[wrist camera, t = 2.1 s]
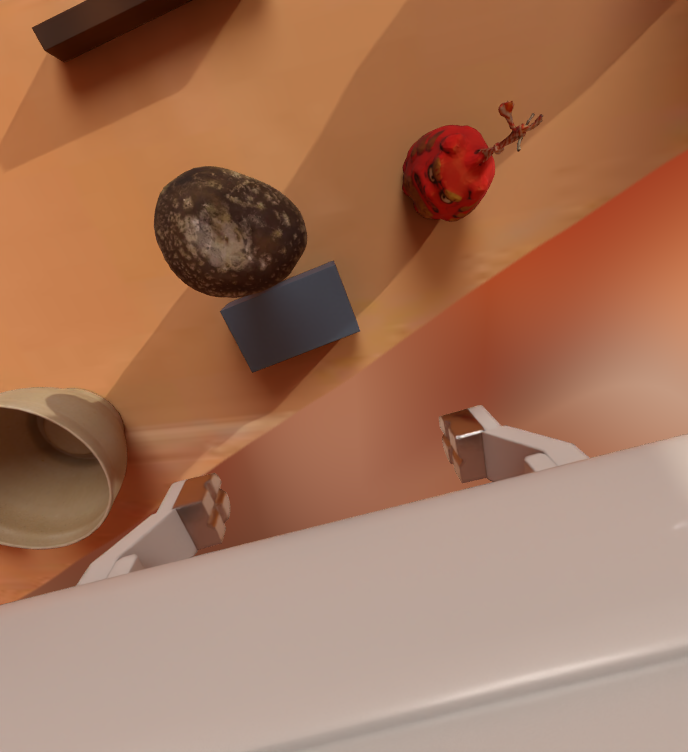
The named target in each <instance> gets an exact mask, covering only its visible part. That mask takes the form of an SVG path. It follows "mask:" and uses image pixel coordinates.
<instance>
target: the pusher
mask: <svg viewBox="0 0 688 752" xmlns="http://www.w3.org/2000/svg"><path fill="white" fill-rule="evenodd" d="M220 312H221V314H222V316H223V318H224V320H225V322H226V324H227V325H228V327H229V329H230V331H231V333H232V335H233V337H234V339H235V341H236V343H237V344H238V346H239V348H240V350H241V352H242V354H243V356H244V358H245V360H246V362H247V363H248V365H249V367H250V369H251V371H252V373H253V372H256V371H258V370H261V369H263V368H266V367H268V366H271V365H274V364H276V363H279V362H281V361H284V360H287V359H289V358H292V357H294V356H297V355H300V354H302V353H305V352H307V351H310V350H313V349H315V348H318V347H320V346H323V345H326V344H328V343H331V342H333V341H336V340H338V339H341V338H344V337H346V336H349V335H351V334H354V333H357V332H359V331H360V329H359V326H358V323H357V321H356V318H355V315H354V313H353V310H352V307H351V305H350V302H349V300H348V297H347V294H346V292H345V289H344V286H343V284H342V281H341V278H340V276H339V273H338V271H337V268H336V265H335V263H334V261H331V262H329V263H326V264H324V265H321V266H319V267H316V268H314V269H311V270H309V271H306V272H304V273H302V274H299V275H297V276H294V277H292V278H289V279H287V280H284V281H282V282H280V283H278V284H277V285H275V286H273V287H271V288H269V289H267V290H265V291H262V292H260V293H256V294H252V295H248V296H245V297H242V298H240V299H237V300H235V301H232V302H230V303H228V304H227V305H226V306H225V307H224V308H223V309H222V310H221V311H220Z"/></svg>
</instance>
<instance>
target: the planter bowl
mask: <svg viewBox="0 0 688 752" xmlns="http://www.w3.org/2000/svg"><path fill="white" fill-rule="evenodd" d="M126 467H127V445H126V440H125V436H124V425H123V422H122V419H121V417H120V415H119V413H118V412H117V410H116V409H115V408H114V407H113V406H112V405H111V404H110V403H109V402H108V401H107V400H105V399H104V398H102V397H101V396H99V395H97V394H95V393H92V392H90V391H86V390H82V389H75V388H67V389H62V388H54V387H32V388H23V389H16V390H11V391H6V392H2V393H0V544H1V545H5V546H10V547H17V548H24V549H53V548H59V547H64V546H68V545H71V544H74V543H76V542H78V541H81V540H83V539H84V538H86V537H88V536H89V535H91V534H92V533H93V532H94V531H96V530H97V529H98V528H99V527H100V526H101V524H102V523H103V522H104V520H105V519H106V517H107V516H108V514H109V512H110V510H111V508H112V505H113V502H114V500H115V498H116V496H117V494H118V492H119V490H120V488H121V485H122V483H123V480H124V476H125V472H126Z"/></svg>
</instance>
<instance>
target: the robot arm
mask: <svg viewBox="0 0 688 752" xmlns="http://www.w3.org/2000/svg"><path fill="white" fill-rule="evenodd" d="M439 422H440V428H441V429H442V431H443V433H444V435H443V437H442V441H443V446H444V450H445V453H446V455H447V458H448V460H449V462H450V463H451V464H454V469H455V472H456V474H457V475H458V477H459V479H460V481H461V482H462V483H465V482H470V481H474V480H479V479H483V478H487V479H489V480H490V481H492V483H488V484H484V485H480V486H476V487H471V488H467V489H463V490H460V491H456V492H452V493H447V494H444V495H439V496H436V497H432V498H427V499H423V500H419V501H415V502H411V503H408V504H404V505H399V506H395V507H391V508H387V509H384V510H379V511H376V512H371V513H367V514H363V515H359V516H355V517H351V518H347V519H344V520H339V521H335V522H331V523H327V524H323V525H319V526H315V527H312V528H308V529H303V530H299V531H295V532H291V533H288V534H284V535H279V536H275V537H271V538H268V539H263V540H259V541H255V542H251V543H247V544H243V545H239V546H235V547H231V548H227V549H223V550H219V551H215V552H211V553H207V554H203V555H199V556H195V557H193V556H194V555H195V554H196V553H197V550H199V549H202V548H206V547H210V546H213V545H217V544H221V543H222V540H223V537H224V534H225V530H226V527H225V525H224V523H225V522H226V521H227V520H228V519H229V515H230V503H229V498H228V496H227V493H226V492H225V491H223V490H222V489H220V485H221V480H220V478H219V476H218V475H217V474H215V473H212V474H208V475H204V476H199V477H195V478H191V479H186V480H182V481H178V482H175V483H173V484H172V485H171V487H170V488H169V490H168V492H167V494H166V496H165V498H164V500H163V501H162V503H161V505H160V507H159V509H158V511H157V513H156V514H152V515H151V516H149V517H148V518H147V519H146V520H144V521H143V522H142V523H141V524H140V525H138V526H137V527H136V528H134V529H133V530H132V531H131V532H130V533H128V534H127V535H126V536H125V537H124V538H122V539H121V540H120V541H118V542H117V543H116V544H115V545H114V546H112V547H111V548H110V549H108V550H107V551H106V552H105V553H103V554H102V555H101V556H100V557H98V558H97V559H96V560H95V561H93V562H92V563H91V564H90V565H89V567H88V568H87V570H86V572H85V573H84V575H83V576H82V578H81V579H80V581H79V582H78V584H77V585H76V586H74V587H70V588H66V589H62V590H58V591H54V592H50V593H46V594H42V595H39V596H34V597H30V598H26V599H22V600H18V601H14V602H10V603H6V604H2V605H0V752H688V434H684V435H680V436H676V437H673V438H668V439H665V440H660V441H656V442H652V443H648V444H644V445H640V446H636V447H632V448H628V449H624V450H620V451H616V452H612V453H608V454H604V455H600V456H596V457H592V458H589V457H588V456H587V455H586V454H584V453H583V452H582V451H581V450H580V449H579V448H577V447H576V446H575V445H574V444H572V443H568V442H564V441H561V440H557V439H554V438H550V437H546V436H543V435H539V434H535V433H532V432H528V431H525V430H521V429H517V428H513V427H509V426H501V425H500V424H499V423H498V422H497V421H496V420H495V419H494V418H493V417H492V415H491V414H490V413H489V412H488V411H487V410H486V409H485V408H484V407H483V406H481V405H478V406H475V407H471V408H468V409H465V410H461V411H458V412H454V413H450V414H447V415H443V416H440V417H439Z"/></svg>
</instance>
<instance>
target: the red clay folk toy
mask: <svg viewBox="0 0 688 752" xmlns="http://www.w3.org/2000/svg"><path fill="white" fill-rule="evenodd" d="M513 107H514V103H513V101H511V102H509V101H507V102H505V103H502V104H501V105H500V106H499V109H498V110H499V112H500V115H501V116H503V117H505V118H506V120H507V122H508V123H509V126H510V129H512V132H511V134H510V135H509V136H508V137H507V138H506V139H504V140H503V141H501V142H498V143H496V144H495V145H494V147H492V148H488V146H487V144H486V143H485V141H484V139H483V137H482V136H481V134H480V133H479V132H478V131H477V130H476V129H474V128H472V127H469V126H459V125H447V126H443V127H440V128H437V129H435V130H433V131H431V132H429V133H427V134H425V135H424V136H422V137H421V138H420V139H419V140H418V141H417V142H415V143H414V144H413V145H412V147H411V148H410V150H409V151H408V154H407V158H406V160H405V162H404V165H403V173H404V176H403V185H402V190H403V192H404V193H405V194H406V195H407V196H409V197H410V198H411V199H412V200H413V204H414V208H415V210H416V211H417V213H419V214H421V215H422V216H423V217H424V218H427V219H429V218H432V219H443V220H445V221H457V220H459V219H461V218H463V217H465V216H466V215H468V214H469V213H470V212H472V211H473V210H474V209H475V208H476V206H477V205H478V204H479V203H480V201H481V200H482V198H483V197H484V195H485V194H486V192H487V190H488V188H489V187H490V184H491V182H492V180H493V177H494V175H495V163H494V159H493V157H492V154H493V153H494V152H495V154H501V152H502V151H503V150H504V146H506V145H508V144H510V143H513V142H514V141H516V140H518V139H519V140H518V143H517V151H520V150H521V149H520V143H521V140H522V139H523V137H524V136H525V134H526V131H529V130H531V129H534V128H535V127H536V126H538V125H539V124H540V123H541V122H542V117H543V115H542V114H540V116H539V117H538V118H537V119H536V120H535V123H532V124H531V125H530V126H529V125H528V124H529V122H530V120H531V119H532V118H533V116H534V115H535V114H534V113H532V115H531V117H530V118H529V120H527V123H526V124H521V125H519V126H518V127H516V126H515V125H514V123H513V119H512V115H511V112H512V109H513Z"/></svg>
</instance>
